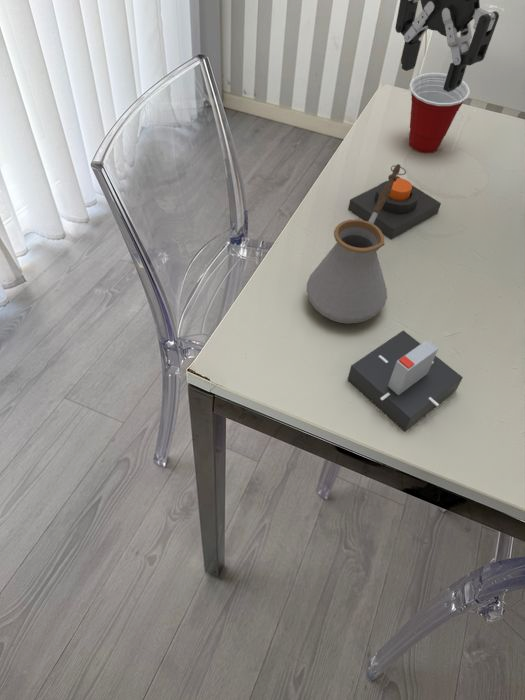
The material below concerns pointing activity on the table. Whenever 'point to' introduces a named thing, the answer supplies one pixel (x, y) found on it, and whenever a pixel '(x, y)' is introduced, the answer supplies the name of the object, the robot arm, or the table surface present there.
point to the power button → (400, 190)
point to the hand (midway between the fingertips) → (428, 79)
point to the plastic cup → (433, 110)
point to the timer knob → (412, 367)
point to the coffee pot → (352, 269)
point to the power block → (395, 210)
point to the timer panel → (415, 400)
